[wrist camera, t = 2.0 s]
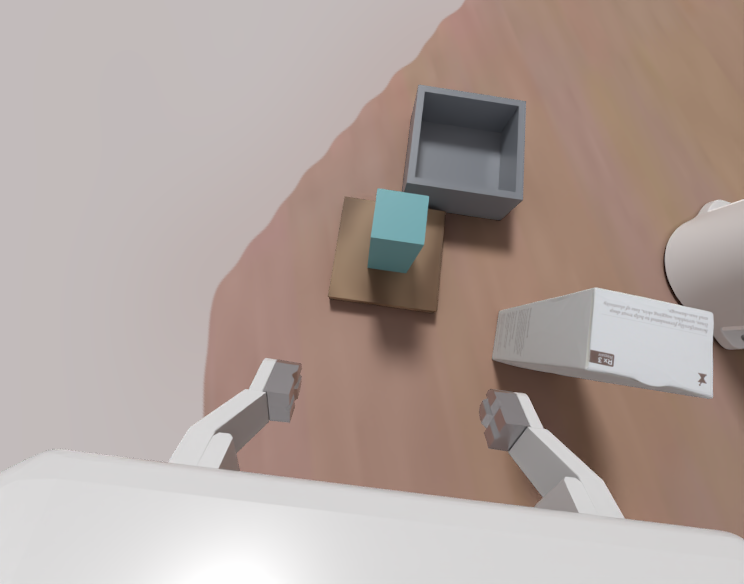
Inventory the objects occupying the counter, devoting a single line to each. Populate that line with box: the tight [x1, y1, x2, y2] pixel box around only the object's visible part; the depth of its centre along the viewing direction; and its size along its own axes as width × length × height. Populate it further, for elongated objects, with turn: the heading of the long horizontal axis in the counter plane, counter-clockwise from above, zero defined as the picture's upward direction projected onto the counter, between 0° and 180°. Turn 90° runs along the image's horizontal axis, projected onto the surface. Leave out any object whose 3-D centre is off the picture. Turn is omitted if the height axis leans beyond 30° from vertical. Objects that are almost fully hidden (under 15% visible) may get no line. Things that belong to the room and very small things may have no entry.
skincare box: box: [492, 288, 714, 399], centre depth 26 cm, size 8×6×15 cm
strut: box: [367, 189, 429, 273], centre depth 28 cm, size 4×4×9 cm
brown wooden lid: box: [328, 197, 445, 313], centre depth 32 cm, size 12×12×5 cm
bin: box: [402, 85, 526, 220], centre depth 34 cm, size 13×13×5 cm
